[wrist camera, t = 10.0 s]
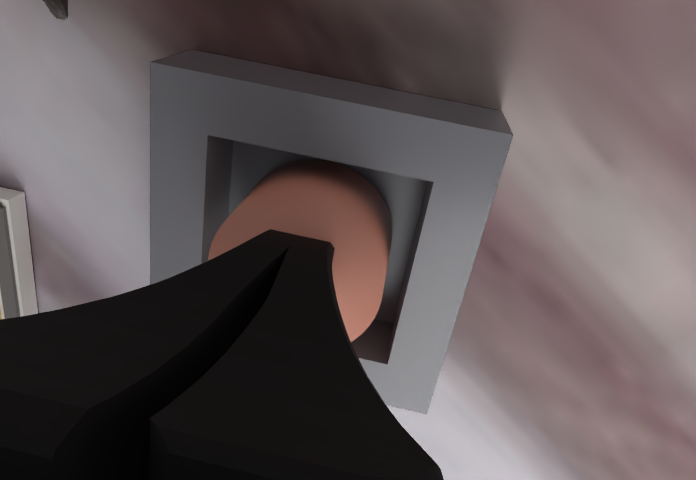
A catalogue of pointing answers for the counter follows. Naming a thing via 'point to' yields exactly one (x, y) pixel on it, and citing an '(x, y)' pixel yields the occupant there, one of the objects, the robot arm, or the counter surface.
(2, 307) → the yellow and green board
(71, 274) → the counter surface
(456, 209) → the button housing
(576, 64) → the counter surface
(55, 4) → the lion figurine
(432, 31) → the counter surface
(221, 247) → the button
